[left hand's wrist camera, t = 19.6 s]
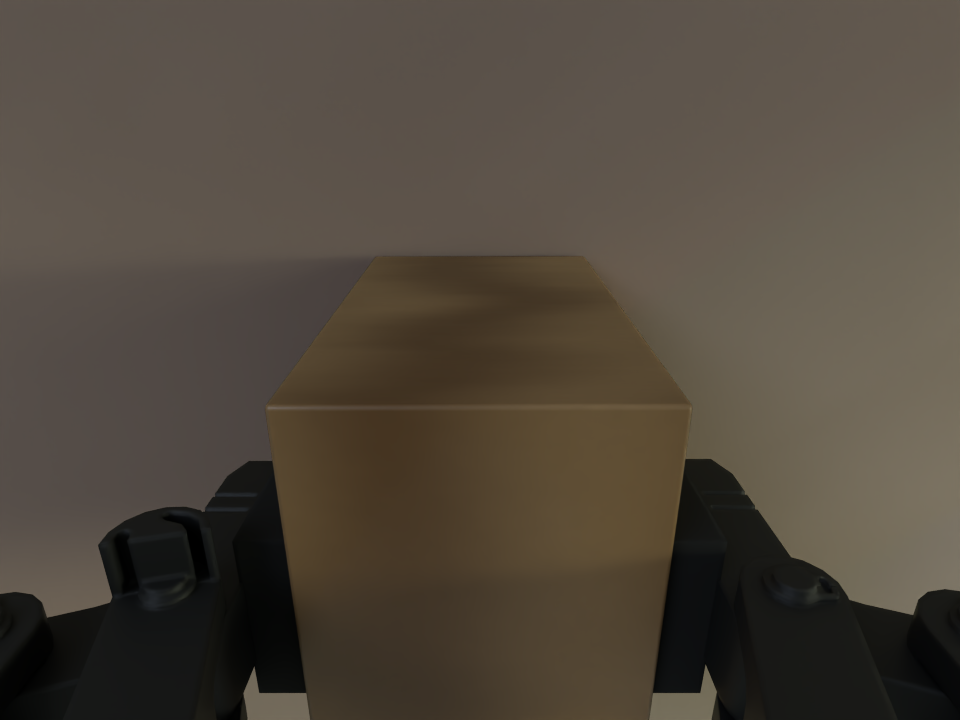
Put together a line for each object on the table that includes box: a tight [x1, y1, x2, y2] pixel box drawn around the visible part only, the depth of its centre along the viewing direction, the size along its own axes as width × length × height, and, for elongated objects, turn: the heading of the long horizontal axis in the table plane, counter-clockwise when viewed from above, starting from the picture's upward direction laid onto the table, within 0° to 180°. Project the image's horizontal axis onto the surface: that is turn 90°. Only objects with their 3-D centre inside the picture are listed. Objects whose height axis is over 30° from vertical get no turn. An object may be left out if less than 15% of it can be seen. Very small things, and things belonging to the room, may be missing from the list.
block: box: [265, 256, 692, 720], centre depth 12 cm, size 5×7×8 cm
